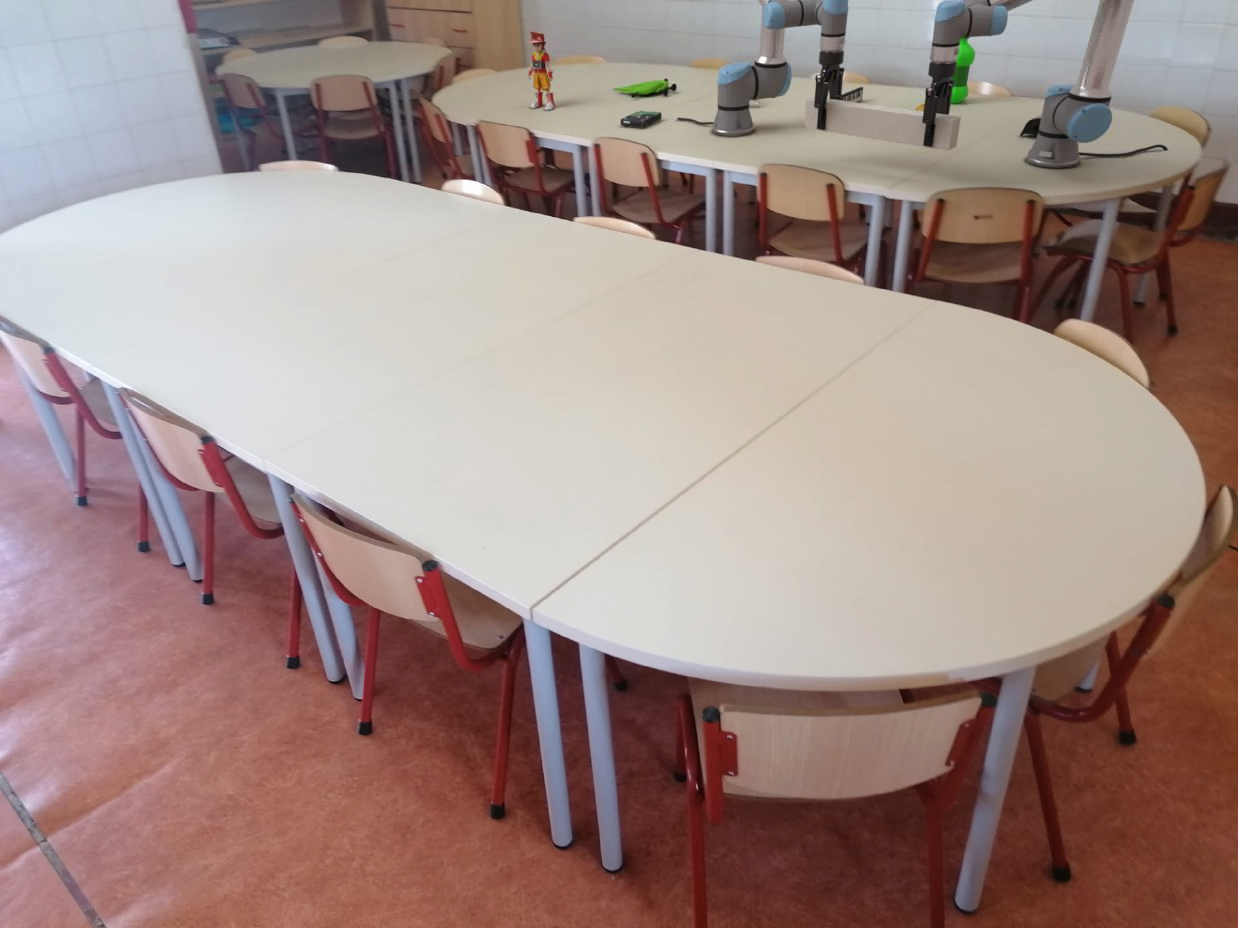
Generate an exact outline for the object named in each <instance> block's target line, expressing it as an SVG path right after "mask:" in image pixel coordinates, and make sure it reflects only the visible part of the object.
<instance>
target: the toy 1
mask: <svg viewBox="0 0 1238 928" xmlns="http://www.w3.org/2000/svg"><path fill="white" fill-rule="evenodd" d="M529 33H530V35H531V36H528V37H527V38H528V39H529V40H528V41H527V43H529V44H530V43H531V44H532V48H533V50H534V51H533V52H532V55H531V58H530V59H531V63H530V66H528V74H527V75H528V76H527V77H528V79H529V80H531V75H532V74H533V84H532V85H533V86H532V87H533V88H534V89H535V90H536V92H534V95H535V97H536V100H535V101H533V102H531V105H530V108H531V109H535V108H538V107H542V106H544V101H543V100H544V99H543V95H544V92H546V94H545V97H546V99H547V103H546V104H545V106H544V110H546V111H549V110H553V109H554V107H555V106H556V105H555V99H554V92H551V91H550V90H551V86H552V84H551V82H552V81H553V80H554V77H553V73H554V71H555V70H554V69H552V68H551V63H550V61H551V59H550V58H551V57H550V54H549V53H548V52H547V50H546V48H545V46H546V44H547V41H545V35H544V33H543V32H542V33H539V32H535V31H529Z"/></svg>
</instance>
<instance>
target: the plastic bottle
mask: <svg viewBox="0 0 1238 928" xmlns="http://www.w3.org/2000/svg"><path fill="white" fill-rule="evenodd" d="M969 39H970V37H965V38H961V39H960V45H959V50H960V52H959V53H958V57H957V60H956V63H957V66H956V73H955V75H954V76H952V77H950V80H954V85H953V89H952V96H951V104H960V103H961V102H963V101H964V100H966V98H967V96H968V95H969V85H968V79H969V73H970V67H971V65H972V64H973V63H974V61H975V57H976V51H975V49H974V47H972V45H971V44H970V43H969V42H968V41H969Z"/></svg>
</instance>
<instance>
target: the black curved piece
mask: <svg viewBox="0 0 1238 928" xmlns="http://www.w3.org/2000/svg"><path fill="white" fill-rule="evenodd" d="M1041 117H1042V113H1040V114H1037V115H1036V116H1034V117H1033V118H1031V119H1029V120H1028V121H1027V122H1026V123H1025V125H1024V127H1023V129H1022V130H1021V132H1020V134H1019V137H1023V136H1024V135H1031V136H1032V137H1033V138H1035V139H1036V138H1037V136H1038V132H1039V127H1040V122H1041Z"/></svg>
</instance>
